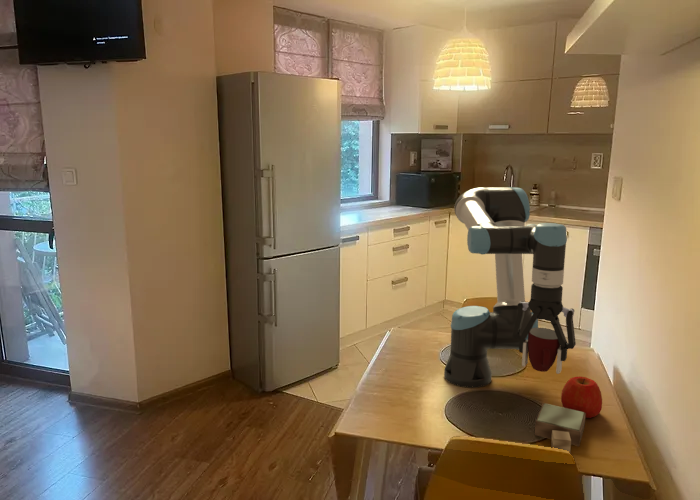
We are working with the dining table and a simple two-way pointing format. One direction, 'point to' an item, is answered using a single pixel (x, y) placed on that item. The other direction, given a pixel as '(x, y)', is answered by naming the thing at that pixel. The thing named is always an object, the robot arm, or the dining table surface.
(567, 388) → the apple
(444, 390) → the dining table surface
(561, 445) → the oak block
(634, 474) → the dining table surface
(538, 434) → the podium
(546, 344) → the mug
